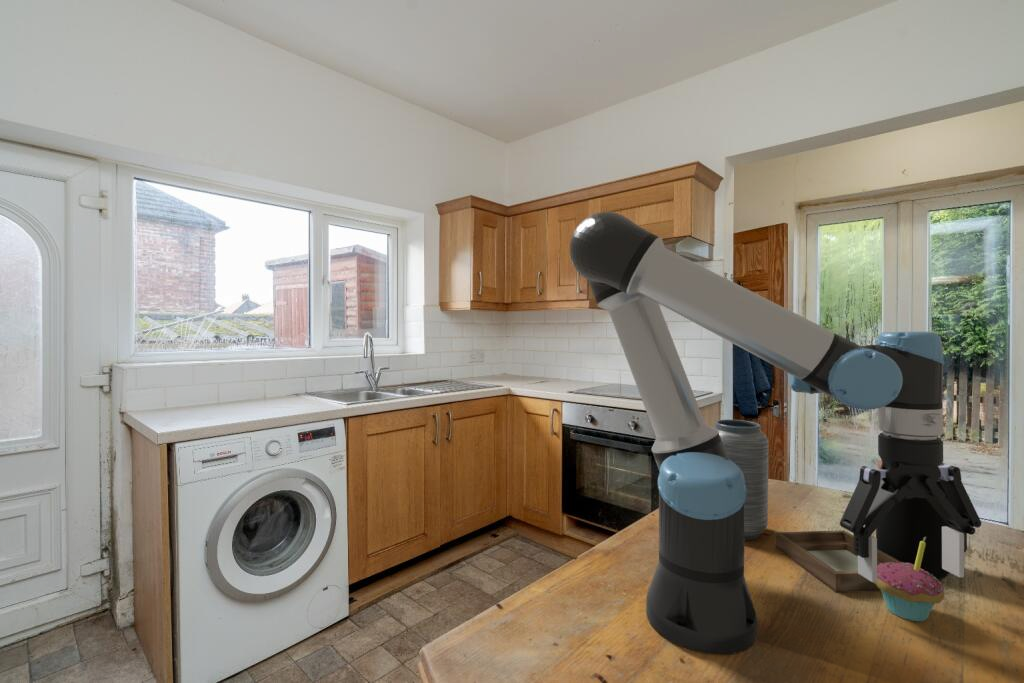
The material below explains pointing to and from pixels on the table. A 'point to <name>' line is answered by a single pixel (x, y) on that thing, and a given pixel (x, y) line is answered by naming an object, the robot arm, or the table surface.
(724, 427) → the vase
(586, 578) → the table surface
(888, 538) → the coffee jar
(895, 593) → the cupcake
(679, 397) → the robot arm
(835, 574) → the walled box
